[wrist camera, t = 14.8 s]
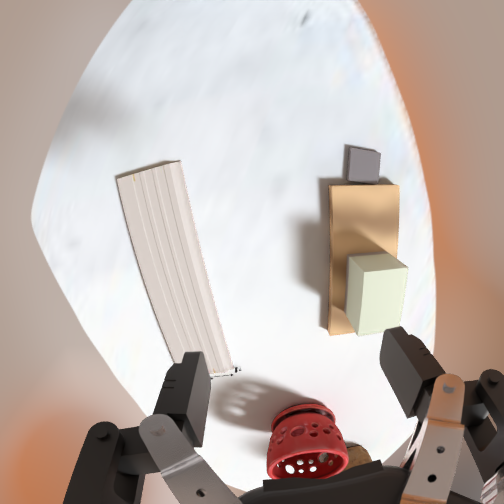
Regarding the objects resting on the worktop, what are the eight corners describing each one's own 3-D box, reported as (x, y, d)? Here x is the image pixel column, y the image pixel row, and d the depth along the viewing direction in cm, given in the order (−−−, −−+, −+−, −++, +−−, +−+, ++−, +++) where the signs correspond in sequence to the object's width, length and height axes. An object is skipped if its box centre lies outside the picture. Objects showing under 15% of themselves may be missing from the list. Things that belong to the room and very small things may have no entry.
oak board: (328, 185, 32) (331, 186, 31) (393, 184, 32) (399, 185, 30) (327, 330, 38) (329, 335, 37) (383, 321, 38) (387, 326, 36)
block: (368, 441, 48) (391, 510, 29) (364, 455, 50) (383, 519, 31) (321, 452, 48) (335, 526, 29) (321, 465, 51) (333, 533, 32)
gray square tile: (347, 147, 31) (351, 147, 30) (376, 153, 31) (380, 153, 30) (345, 179, 32) (348, 180, 31) (374, 183, 32) (377, 184, 31)
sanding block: (346, 254, 33) (364, 272, 27) (386, 250, 33) (408, 267, 27) (343, 311, 36) (357, 336, 30) (380, 306, 35) (398, 329, 30)
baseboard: (193, 158, 32) (121, 178, 32) (188, 157, 29) (111, 180, 30) (243, 364, 41) (182, 370, 41) (242, 376, 38) (178, 382, 39)
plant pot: (342, 392, 42) (359, 445, 31) (328, 434, 46) (338, 481, 35) (266, 397, 42) (269, 454, 31) (263, 438, 46) (264, 487, 35)
